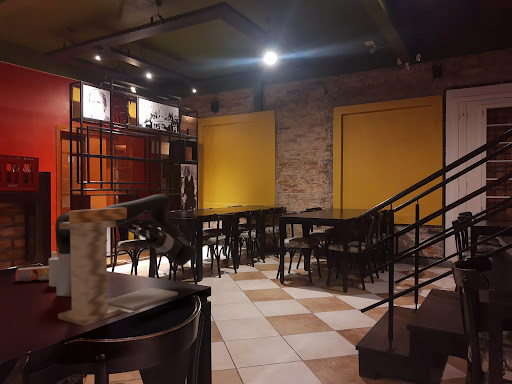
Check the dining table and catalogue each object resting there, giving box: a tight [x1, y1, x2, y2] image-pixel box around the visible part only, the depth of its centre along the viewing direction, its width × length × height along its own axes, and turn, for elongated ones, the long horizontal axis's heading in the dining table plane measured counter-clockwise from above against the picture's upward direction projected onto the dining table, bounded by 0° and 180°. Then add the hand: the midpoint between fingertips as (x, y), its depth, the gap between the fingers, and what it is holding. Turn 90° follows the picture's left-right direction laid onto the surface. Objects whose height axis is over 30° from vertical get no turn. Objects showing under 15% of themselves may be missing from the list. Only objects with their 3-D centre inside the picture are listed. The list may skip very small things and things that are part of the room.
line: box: [107, 305, 135, 314], centre depth 139 cm, size 2×20×1 cm, turn 58°
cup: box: [48, 256, 58, 288], centre depth 176 cm, size 8×8×12 cm
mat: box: [107, 286, 179, 311], centre depth 150 cm, size 23×16×1 cm
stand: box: [57, 220, 122, 327], centre depth 131 cm, size 14×14×32 cm
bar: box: [68, 208, 127, 223], centre depth 135 cm, size 20×4×4 cm, turn 148°
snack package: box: [14, 265, 49, 282], centre depth 186 cm, size 21×7×7 cm, turn 102°
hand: (132, 223), depth 147 cm, fingers open, 8 cm apart
